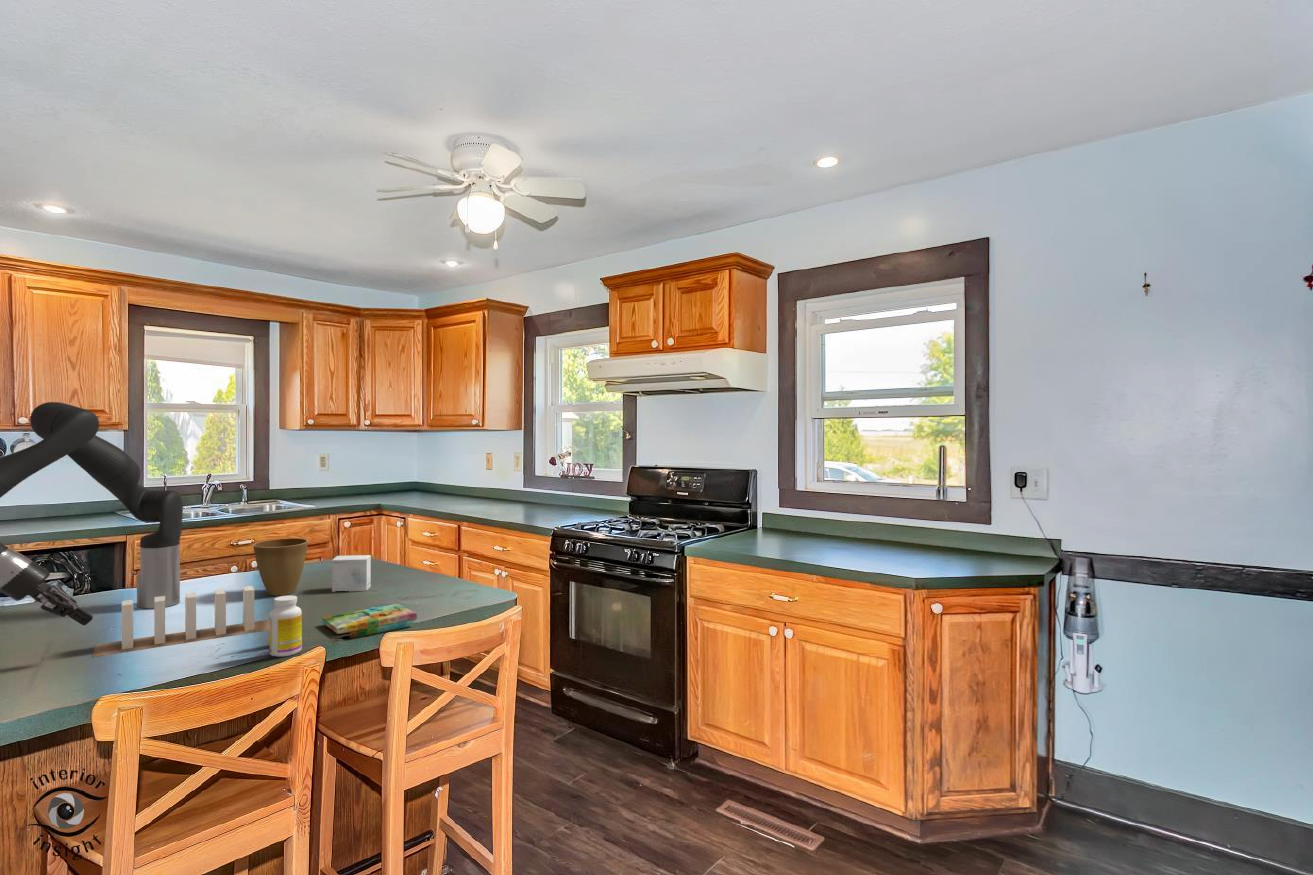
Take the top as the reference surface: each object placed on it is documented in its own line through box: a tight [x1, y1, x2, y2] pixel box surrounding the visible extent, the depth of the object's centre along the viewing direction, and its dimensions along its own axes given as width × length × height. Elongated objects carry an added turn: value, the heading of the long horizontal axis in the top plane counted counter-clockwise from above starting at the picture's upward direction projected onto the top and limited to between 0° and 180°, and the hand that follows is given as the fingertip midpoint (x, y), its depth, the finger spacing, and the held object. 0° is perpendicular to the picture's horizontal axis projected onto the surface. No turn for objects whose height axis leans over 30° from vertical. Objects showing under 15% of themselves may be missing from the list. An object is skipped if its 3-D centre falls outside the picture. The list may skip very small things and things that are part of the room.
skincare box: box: [331, 554, 372, 593], centre depth 214 cm, size 10×6×10 cm, turn 102°
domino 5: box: [242, 585, 255, 631], centre depth 168 cm, size 2×5×10 cm, turn 36°
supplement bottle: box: [268, 595, 303, 658], centre depth 155 cm, size 7×7×13 cm
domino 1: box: [121, 599, 134, 649], centre depth 154 cm, size 2×5×10 cm, turn 37°
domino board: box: [91, 619, 269, 658], centre depth 161 cm, size 36×10×2 cm, turn 127°
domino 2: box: [153, 596, 166, 644], centre depth 158 cm, size 2×5×10 cm, turn 36°
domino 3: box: [184, 592, 197, 640], centre depth 161 cm, size 2×5×10 cm, turn 37°
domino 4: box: [214, 588, 227, 635], centre depth 165 cm, size 2×5×10 cm, turn 36°
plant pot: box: [252, 537, 309, 597], centre depth 208 cm, size 15×15×16 cm
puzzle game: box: [321, 603, 418, 639], centre depth 173 cm, size 12×5×20 cm
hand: (89, 621), depth 150 cm, fingers closed
